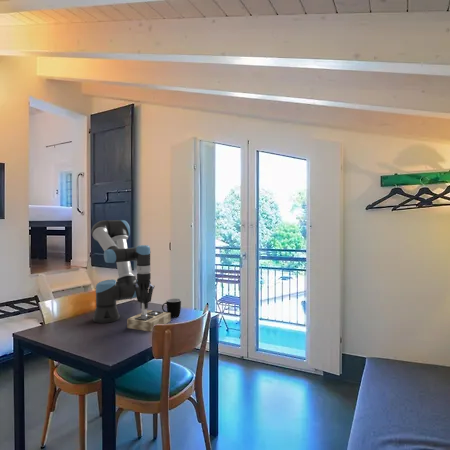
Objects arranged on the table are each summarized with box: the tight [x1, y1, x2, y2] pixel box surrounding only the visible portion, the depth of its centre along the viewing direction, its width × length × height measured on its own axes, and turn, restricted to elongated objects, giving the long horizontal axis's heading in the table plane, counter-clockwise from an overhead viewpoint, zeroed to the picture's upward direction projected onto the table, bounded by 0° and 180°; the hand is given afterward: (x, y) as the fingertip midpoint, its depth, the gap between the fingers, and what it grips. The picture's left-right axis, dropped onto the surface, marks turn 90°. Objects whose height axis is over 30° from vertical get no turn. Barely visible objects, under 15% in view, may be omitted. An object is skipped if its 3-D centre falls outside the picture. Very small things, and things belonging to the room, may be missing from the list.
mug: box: [161, 298, 182, 319], centre depth 220 cm, size 12×9×10 cm
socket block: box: [126, 309, 172, 333], centre depth 204 cm, size 16×20×5 cm
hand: (144, 314), depth 199 cm, fingers closed
